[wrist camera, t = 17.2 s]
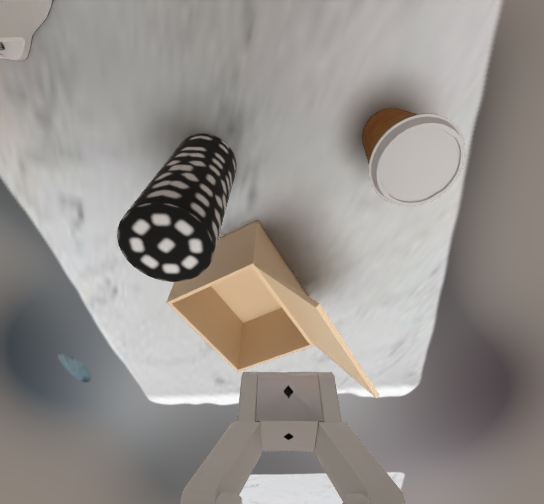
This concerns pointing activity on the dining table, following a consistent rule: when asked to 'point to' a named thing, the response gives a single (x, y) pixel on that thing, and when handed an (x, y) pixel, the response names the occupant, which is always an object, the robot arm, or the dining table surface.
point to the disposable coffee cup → (412, 155)
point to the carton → (241, 301)
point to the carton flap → (317, 327)
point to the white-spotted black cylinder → (180, 211)
